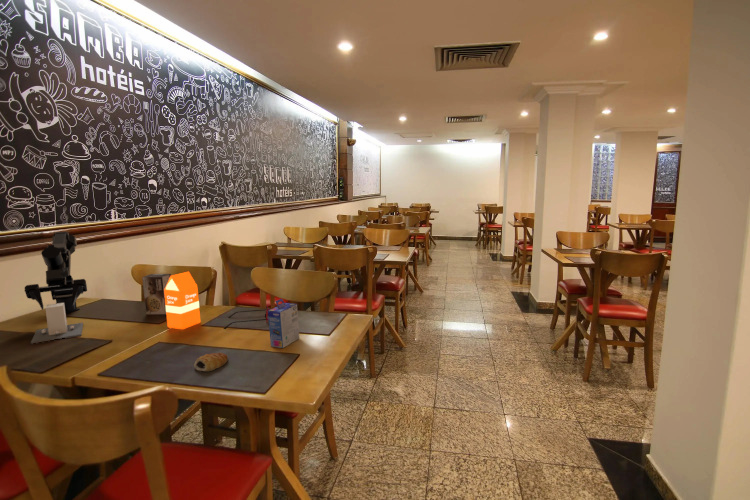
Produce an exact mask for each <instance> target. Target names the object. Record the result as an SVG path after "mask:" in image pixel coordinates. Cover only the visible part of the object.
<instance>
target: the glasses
mask: <svg viewBox="0 0 750 500" xmlns="http://www.w3.org/2000/svg"><path fill="white" fill-rule="evenodd" d="M269 310H271V309H270V308H269V306H268V304H267V305H266V306H265V309H254V310H241V311H239V310H238V311H235V312H234V313H232V314H231V315H229V316H228V317H227V318H228V319H230V318H231V317H233V316H234V315H235V314H238V313H249V312H260V311H261V312H263V311H265V314H264V318H262V319H252V320H251V319H250V320H240V321H237V320H236V321H232V322H229V323H228V324H227V325H226V326H225V327H223V330H225V329H227V328H228V327H230V325H232V324H235V323H247V322H259V321H265V322H266V323H268V321H269V320H268V311H269Z"/></svg>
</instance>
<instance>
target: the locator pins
mask: <svg viewBox="0 0 750 500" xmlns="http://www.w3.org/2000/svg"><path fill="white" fill-rule="evenodd" d="M70 330H74V325H71V326H70ZM45 334H46V330H42V335H45ZM58 335H60V334H59V331H55V336H58Z"/></svg>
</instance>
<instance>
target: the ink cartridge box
mask: <svg viewBox="0 0 750 500" xmlns="http://www.w3.org/2000/svg"><path fill="white" fill-rule="evenodd" d="M280 302H281V303H280ZM274 303H275V304H276V306H275V307H274V308H271V309H270V310H268V315H267V319H268V320H267V321H268V329H269V330H268V331H269V339H270V340H269V341H270V346H271V347H272V348H273V347H274V348H279V349H284V348H286V347H287V346H289V345H290V344H292V343H294V342H295V341H297V340H299V339H300V328H299V313H298V304H297V303H289V302H284V299H283V298H280V299H278V300H275V301H274ZM279 303H280V304H279Z"/></svg>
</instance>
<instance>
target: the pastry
mask: <svg viewBox="0 0 750 500" xmlns="http://www.w3.org/2000/svg"><path fill="white" fill-rule="evenodd" d="M228 361H229V357H228V355H227V354H225V353H223V352H214V353H212V352H211V353H206V354H204V355H202V356H201V355H200V356H199V357H198V358H196V360H195V362H194V364H193V367H194V369H195V370H196V371H199V372H200V371H202V372H212V371H215V370H216V369H219V368H221V367H222V366H224V365H225V364H226V363H227V362H228Z"/></svg>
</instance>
